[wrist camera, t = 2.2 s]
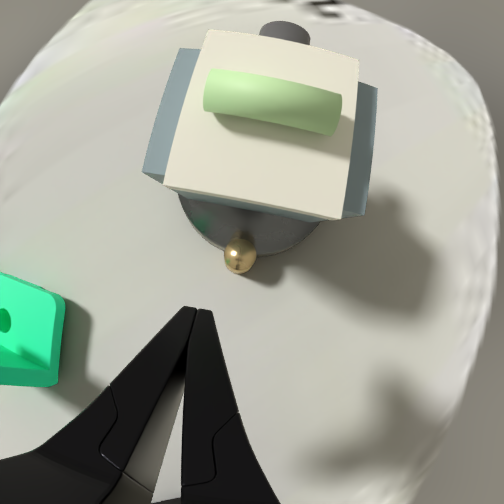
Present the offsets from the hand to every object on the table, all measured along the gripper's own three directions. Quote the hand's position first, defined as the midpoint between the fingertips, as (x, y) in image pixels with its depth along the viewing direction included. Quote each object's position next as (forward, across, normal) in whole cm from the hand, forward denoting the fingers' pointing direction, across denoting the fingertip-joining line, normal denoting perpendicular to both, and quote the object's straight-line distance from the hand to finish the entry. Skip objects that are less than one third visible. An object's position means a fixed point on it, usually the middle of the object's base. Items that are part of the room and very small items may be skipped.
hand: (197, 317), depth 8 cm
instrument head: (+16, -1, -1) cm, 16 cm away
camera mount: (+6, +18, +14) cm, 24 cm away
